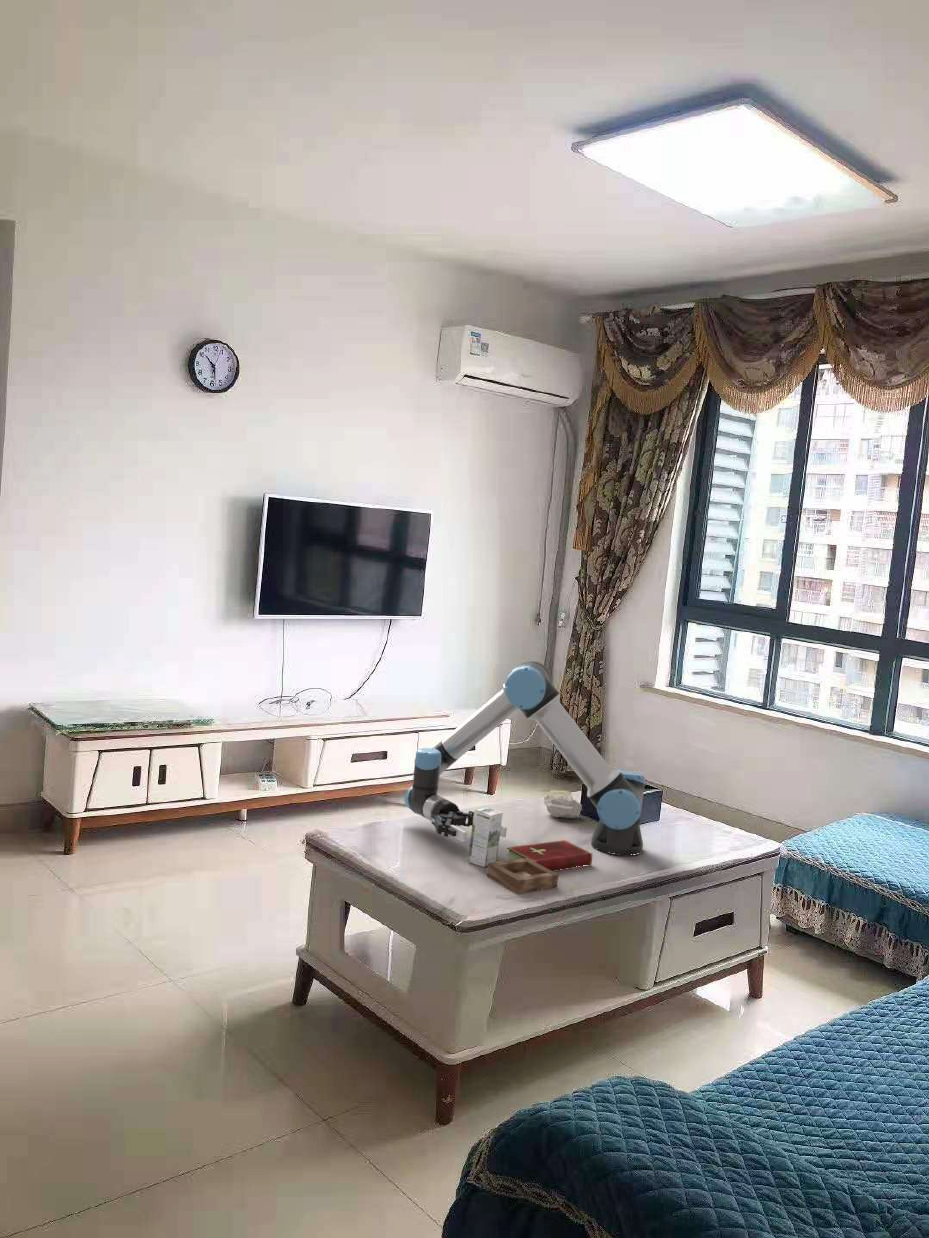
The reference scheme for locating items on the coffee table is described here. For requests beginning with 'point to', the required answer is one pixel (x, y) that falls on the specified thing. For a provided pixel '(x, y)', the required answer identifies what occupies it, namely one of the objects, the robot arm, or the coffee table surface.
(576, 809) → the fossil replica
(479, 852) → the syrup box
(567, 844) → the hardcover book
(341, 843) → the coffee table surface
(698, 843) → the coffee table surface
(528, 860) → the walnut holder
